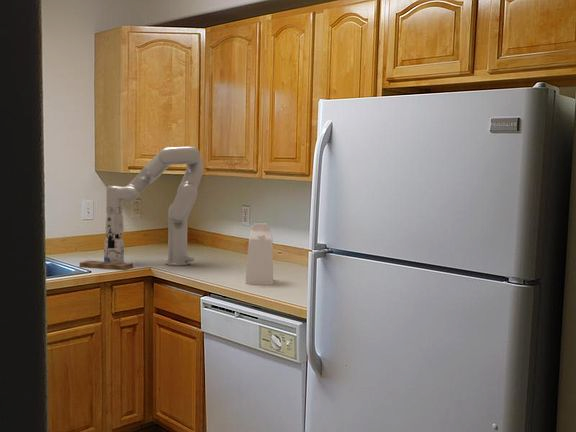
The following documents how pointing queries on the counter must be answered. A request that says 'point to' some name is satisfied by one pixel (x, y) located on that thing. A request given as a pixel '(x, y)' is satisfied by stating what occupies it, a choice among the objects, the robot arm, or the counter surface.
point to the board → (106, 265)
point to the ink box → (114, 251)
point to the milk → (260, 255)
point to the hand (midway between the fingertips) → (114, 246)
